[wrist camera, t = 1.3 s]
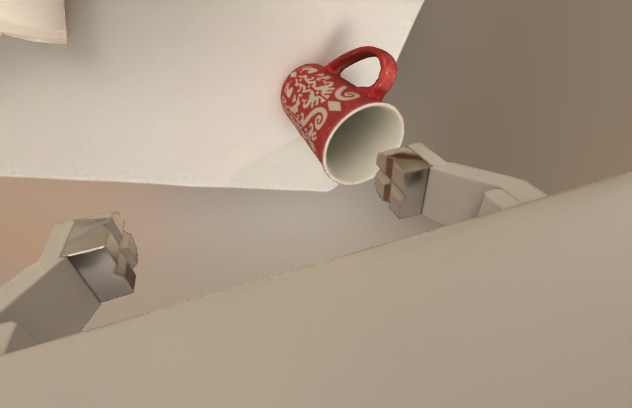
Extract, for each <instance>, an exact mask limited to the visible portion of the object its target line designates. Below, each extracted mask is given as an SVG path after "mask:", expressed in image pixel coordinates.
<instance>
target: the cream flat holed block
mask: <svg viewBox="0 0 632 408" xmlns="http://www.w3.org/2000/svg"><path fill="white" fill-rule="evenodd" d="M0 34H3V35H7V36H10V37H15V38H19V39H24V40H29V41H35V42H42V43H51V44H67V36H68V35H67V28H66V19H65V6H64V0H0Z"/></svg>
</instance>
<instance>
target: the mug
mask: <svg viewBox="0 0 632 408" xmlns="http://www.w3.org/2000/svg"><path fill="white" fill-rule="evenodd" d="M368 57H377V58H378V59H379V61H380V65H381V71H380V74H379V77H378V79H377V80H376V82H375V83H374V84H373V85H372V86H370V87H356V86H355V85H353V84H351V83H350V82H348V81H346V80H345V79H343V78H341V77H340V74H341V72H342V71H343V70H344V69H345V68H347V67H348V66H350V65H352V64H354V63H356V62H358V61H360V60H363V59H365V58H368ZM396 72H397V66H396V62H395V60H394V58H393V57H392V56H391V55H390V54H389V53H387V52H386V51H384V50H382V49H379V48H376V47H371V46H365V47H359V48H356V49H354V50H351V51H349V52H347V53H345V54H343V55H341V56H339V57H338V58H336V59H335V60H333V61H332V62H330V63H329V64H328V65H326V66H325V67H323V66H321V65H318V64H306V65H303V66H301V67H299V68H297V69H295V70H294V71H293V72H292V73H291V74H290V75H289V76H288V78H287V79H286V81H285V82H284V84H283V87H282V92H281V103H282V107H283V109H284V111H285V113H286V114H287V116H288V117H289V119H290V120H291V121H292V123H293V124H294V126H295V127H296V128H297V130H298V131H299V133H300V134H301V136H302V137H303V138H304V140H305V141H306V142H307V144H308V145H309V147H310V148H311V150H312V151H313V153H314V154H315V155H316V157H317V158H318V159H319V161H320V162H321V164H322V165H323V168H324V171H325V172H326V174H327V175H328V176H329V177H330V178H331V179H332V180H333V181H335V182H337V183H339V184H343V185H355V184H360V183H363V182H366V181H368V180H370V179H372V178H374V177H375V175H376V173H377V172H378V171H379V169H380V168H379V167H378V166H377V165H376V158H377V155H378V153H380V152H384V151H388V150H392V149H396V148H400V146H401V144H402V141H403V137H404V130H405V128H404V120H403V117H402V115H401V113H400V112H399V111H398V109H397V108H395V107H394V106H393V105H391V104H388V103H386V102H382V99H383V97H384V95H385V94H386V93H387V92H388V91H389V89H390V88H391V86H392V85H393V83H394V80H395V77H396Z"/></svg>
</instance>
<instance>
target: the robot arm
mask: <svg viewBox="0 0 632 408" xmlns="http://www.w3.org/2000/svg"><path fill="white" fill-rule="evenodd" d="M376 165H377V166H378V167H379V168H380V169H379V171H378V172H377V173H376V175H375V185H376V190H377V193H378V194H379V196H380V198H381V199H382V200H383V201H386V202H389V203H390V204H389V208H390V209H391V211H392V212H393V213H394V214H395V215H396V217H397V218H398V219H403V218H407V217H410V216H415V215H419V214H422V215H423V216H425V217H427V218H429V219H431V220H433V221H435V222H437V223H439V224H441V225H443V227H440V228H437V229H433V230H430V231H426V232H423V233H419V234H416V235H413V236H409V237H406V238H402V239H399V240H395V241H392V242H389V243H385V244H382V245H378V246H375V247H371V248H368V249H365V250H361V251H358V252H354V253H351V254H347V255H344V256H341V257H337V258H334V259H330V260H327V261H324V262H320V263H316V264H313V265H310V266H306V267H303V268H299V269H296V270H292V271H289V272H286V273H282V274H279V275H275V276H272V277H269V278H265V279H262V280H258V281H255V282H252V283H248V284H244V285H241V286H237V287H234V288H231V289H227V290H224V291H220V292H217V293H214V294H210V295H207V296H203V297H200V298H196V299H193V300H190V301H186V302H183V303H179V304H176V305H172V306H169V307H165V308H162V309H158V310H155V311H152V312H148V313H145V314H141V315H138V316H135V317H131V318H128V319H124V320H121V321H117V322H114V323H110V324H107V325H104V326H100V327H97V328H93V329H90V330H87V331H83V332H81V331H82V329H83V328H84V326H85V325H86V324H87V322H88V321H89V320H90V319H91V317H92V316H93V314H94V313H95V312H96V310H97V309H98V308H99V306H100V305H101V302H105V301H108V300H111V299H114V298H118V297H122V296H125V295H128V294H131V293H134V286H135V279H136V275H135V273H134V271H133V268H134V267H135V266H136V265H137V262H138V254H137V247H136V244H135V242H134V239H133V237H132V235H131V234H130V233H128V232H126V231H124V230H123V228H124V224H125V223H124V220H123V218H122V217H121V215H120V213H118V212H117V211H114V212H109V213H104V214H99V215H94V216H89V217H84V218H79V219H74V220H70V221H65V222H61V223H57V224H55V225H54V226H53V228H52V230H51V232H50V234H49V237H48V239H47V241H46V243H45V245H44V247H43V250H42V252H41V254H40V256H39V259H38V261H37V263H36V264H32V265H29V266H28V267H27V268H25V269H24V270H23V271H21V272H20V273H19V274H18V275H16V276H15V277H14V278H13V279H11V280H10V281H9V282H8V283H6V284H5V285H3V286H2V287H1V288H0V408H632V172H628V173H625V174H622V175H618V176H615V177H612V178H608V179H605V180H602V181H598V182H594V183H591V184H588V185H584V186H581V187H577V188H574V189H570V190H567V191H564V192H560V193H557V194H553V195H550V196H548V195H547V194H545V193H543V192H542V191H540V190H539V189H537V188H536V187H534V186H533V185H531V184H530V183H528V182H527V181H525V180H522V179H518V178H514V177H510V176H506V175H502V174H497V173H493V172H489V171H485V170H481V169H477V168H473V167H469V166H464V165H461V164H456V163H452V162H451V163H447V162H446V161H444V160H443V159H442V158H440V157H439V156H438V155H436V154H435V153H434V152H432V151H431V150H430V149H428V148H427V147H426V146H424V145H423V144H422V143H415V144H411V145H408V146H404V147H400V148H396V149H392V150H388V151H384V152H380V153H378V155H377V158H376Z"/></svg>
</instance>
